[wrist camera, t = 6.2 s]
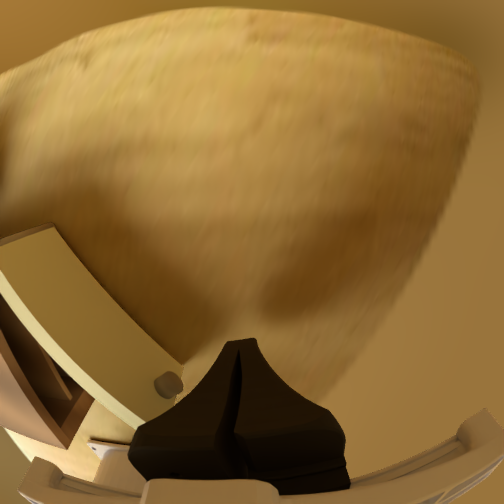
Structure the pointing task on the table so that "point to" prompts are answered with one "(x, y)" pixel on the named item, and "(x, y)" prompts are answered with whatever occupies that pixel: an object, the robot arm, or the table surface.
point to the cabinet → (36, 387)
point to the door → (86, 327)
